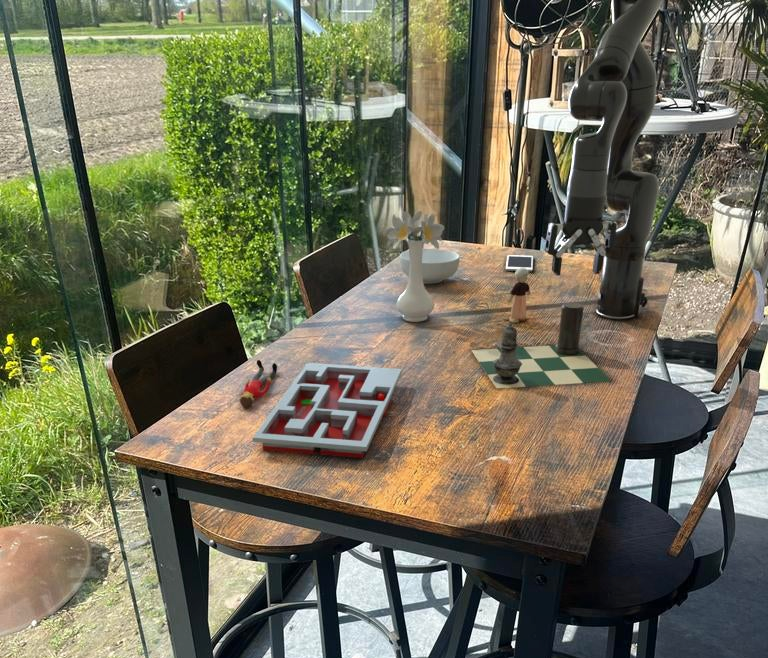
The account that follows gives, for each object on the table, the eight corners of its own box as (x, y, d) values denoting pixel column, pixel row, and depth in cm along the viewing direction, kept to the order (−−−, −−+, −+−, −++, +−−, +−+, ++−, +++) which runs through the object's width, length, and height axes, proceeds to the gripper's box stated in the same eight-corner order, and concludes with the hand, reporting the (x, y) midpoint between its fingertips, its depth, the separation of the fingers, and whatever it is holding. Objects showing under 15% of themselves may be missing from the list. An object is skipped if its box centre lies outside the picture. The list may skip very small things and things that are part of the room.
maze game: (366, 464, 133) (366, 446, 131) (254, 454, 136) (252, 437, 135) (401, 383, 162) (401, 368, 161) (308, 377, 165) (307, 362, 164)
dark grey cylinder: (575, 346, 180) (580, 300, 175) (583, 354, 175) (589, 308, 170) (551, 347, 179) (556, 302, 174) (559, 355, 175) (565, 309, 169)
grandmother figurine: (517, 325, 193) (522, 272, 186) (503, 322, 195) (507, 269, 188) (532, 317, 198) (537, 265, 191) (519, 314, 200) (523, 263, 193)
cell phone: (505, 270, 234) (505, 268, 234) (507, 256, 247) (507, 254, 247) (532, 271, 233) (532, 269, 232) (532, 257, 246) (533, 255, 246)
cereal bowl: (460, 288, 219) (461, 262, 215) (399, 288, 219) (400, 262, 216) (456, 272, 234) (457, 247, 230) (399, 272, 234) (399, 247, 230)
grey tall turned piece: (502, 387, 160) (506, 329, 154) (486, 377, 165) (489, 320, 158) (526, 381, 162) (531, 324, 156) (509, 372, 167) (514, 316, 161)
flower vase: (445, 307, 205) (449, 205, 192) (433, 331, 189) (436, 221, 176) (396, 304, 207) (396, 203, 194) (380, 327, 192) (379, 219, 179)
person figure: (276, 354, 165) (251, 388, 149) (283, 372, 166) (259, 407, 151) (254, 360, 166) (227, 394, 151) (261, 378, 168) (235, 413, 153)
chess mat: (574, 344, 181) (574, 343, 181) (611, 381, 163) (611, 380, 163) (471, 350, 178) (471, 349, 178) (496, 388, 160) (496, 388, 160)
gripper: (558, 196, 156) (549, 280, 164) (627, 194, 158) (615, 277, 166) (546, 190, 162) (538, 270, 171) (613, 188, 164) (602, 267, 172)
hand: (576, 273), depth 168 cm, fingers open, 8 cm apart
